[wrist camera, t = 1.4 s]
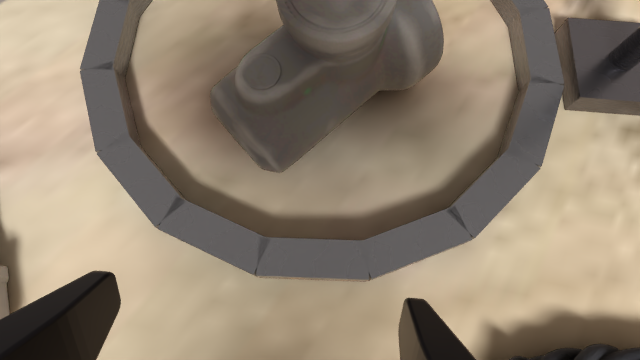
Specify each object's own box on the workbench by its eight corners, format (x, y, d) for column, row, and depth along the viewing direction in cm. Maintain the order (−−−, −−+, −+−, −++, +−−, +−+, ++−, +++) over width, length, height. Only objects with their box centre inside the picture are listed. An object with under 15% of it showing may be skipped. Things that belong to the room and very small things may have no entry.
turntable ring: (635, 62, 25) (654, 47, 24) (307, 408, 19) (306, 416, 17) (330, -153, 32) (330, -174, 31) (13, 43, 26) (-5, 27, 24)
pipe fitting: (349, 6, 26) (359, -147, 16) (428, 88, 25) (492, -24, 15) (213, 111, 25) (132, 18, 15) (288, 203, 24) (255, 167, 14)
